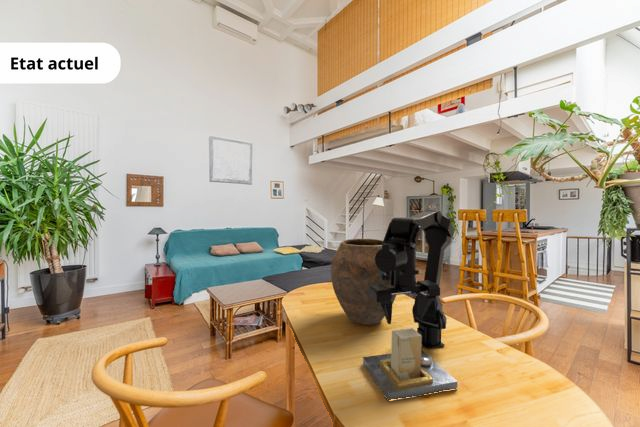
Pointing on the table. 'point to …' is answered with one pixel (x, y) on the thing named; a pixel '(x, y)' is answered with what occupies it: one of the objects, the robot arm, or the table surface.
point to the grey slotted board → (393, 388)
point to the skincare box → (406, 354)
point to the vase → (358, 280)
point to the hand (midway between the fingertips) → (404, 321)
